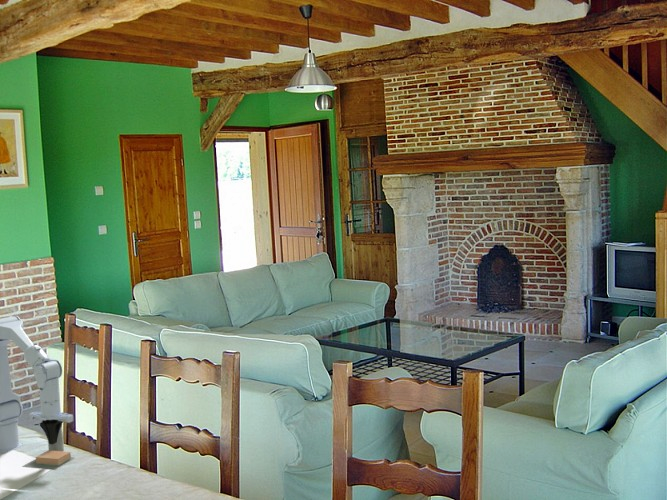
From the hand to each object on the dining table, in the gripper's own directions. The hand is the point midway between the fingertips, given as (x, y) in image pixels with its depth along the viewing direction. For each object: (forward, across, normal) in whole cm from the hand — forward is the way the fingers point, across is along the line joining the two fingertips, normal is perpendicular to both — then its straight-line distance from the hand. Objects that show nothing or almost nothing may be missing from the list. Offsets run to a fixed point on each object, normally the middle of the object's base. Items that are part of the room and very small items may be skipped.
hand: (53, 443), depth 229 cm
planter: (+7, -5, +8) cm, 12 cm away
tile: (+5, -4, 0) cm, 6 cm away
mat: (+6, -2, 0) cm, 7 cm away
